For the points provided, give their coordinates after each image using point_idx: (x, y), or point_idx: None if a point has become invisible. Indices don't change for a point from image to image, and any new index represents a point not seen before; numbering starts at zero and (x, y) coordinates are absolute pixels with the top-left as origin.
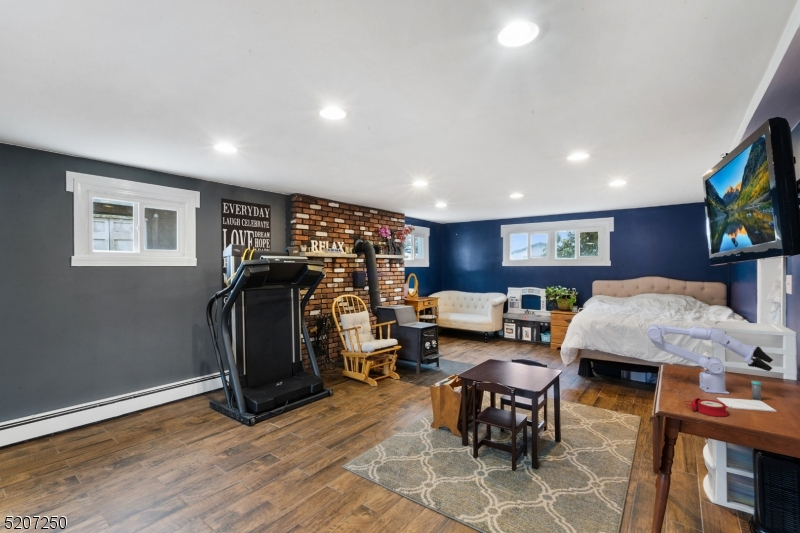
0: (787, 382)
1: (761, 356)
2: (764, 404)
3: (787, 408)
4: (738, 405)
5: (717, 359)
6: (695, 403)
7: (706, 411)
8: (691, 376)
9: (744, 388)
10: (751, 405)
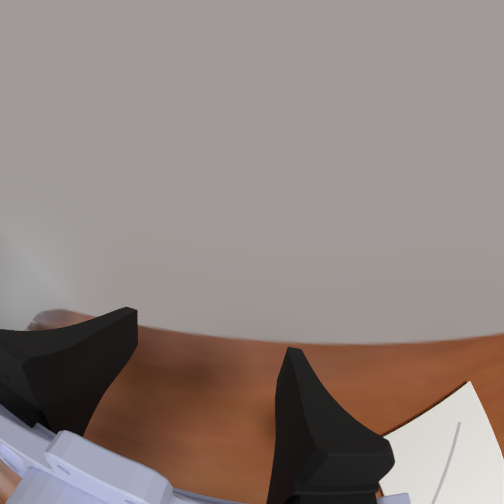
0: (59, 320)
1: (94, 375)
2: (419, 426)
3: (399, 359)
4: (485, 485)
5: None
6: None
7: None
8: None
9: None
10: (461, 457)
